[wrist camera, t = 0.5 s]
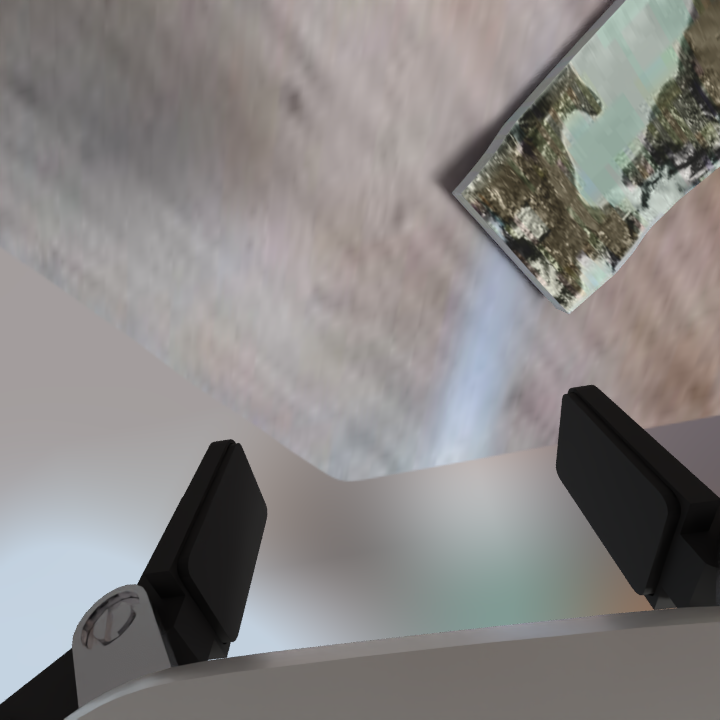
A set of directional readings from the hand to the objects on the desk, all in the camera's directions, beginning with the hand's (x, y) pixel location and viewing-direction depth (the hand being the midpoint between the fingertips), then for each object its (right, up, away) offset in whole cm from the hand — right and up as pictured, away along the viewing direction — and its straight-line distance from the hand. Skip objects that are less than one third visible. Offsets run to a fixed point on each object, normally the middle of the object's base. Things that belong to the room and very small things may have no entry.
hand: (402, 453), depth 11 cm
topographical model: (+21, +22, +21) cm, 37 cm away
